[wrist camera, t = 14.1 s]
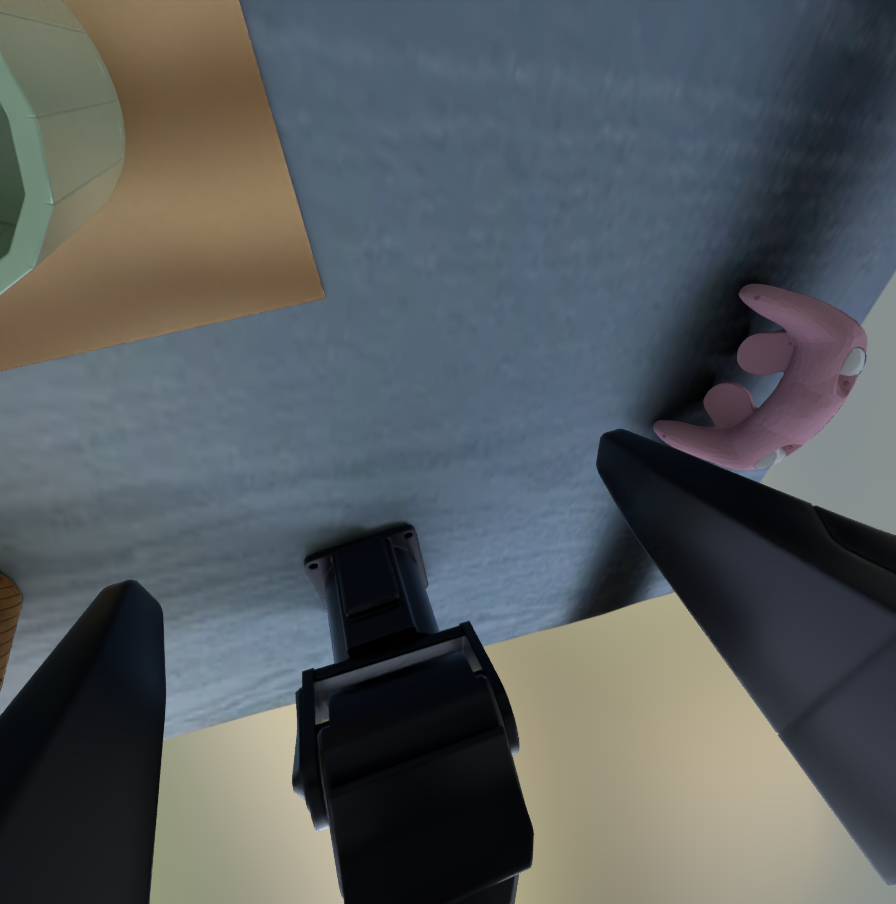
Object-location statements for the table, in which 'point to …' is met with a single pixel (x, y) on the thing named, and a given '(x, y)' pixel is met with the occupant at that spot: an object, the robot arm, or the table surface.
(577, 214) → the table surface
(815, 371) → the video game controller
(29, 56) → the glazed cup
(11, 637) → the disposable coffee cup
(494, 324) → the table surface
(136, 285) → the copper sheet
